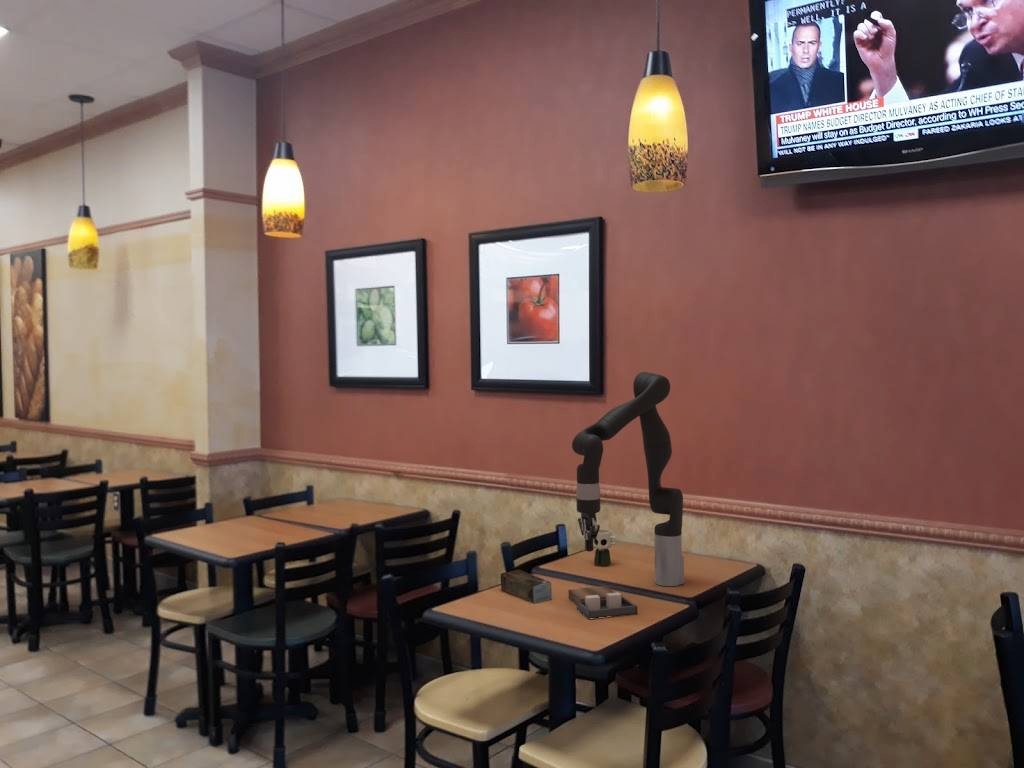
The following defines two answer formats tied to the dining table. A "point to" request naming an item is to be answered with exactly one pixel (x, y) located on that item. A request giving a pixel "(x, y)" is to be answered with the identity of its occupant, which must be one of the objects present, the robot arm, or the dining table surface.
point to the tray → (608, 609)
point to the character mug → (603, 546)
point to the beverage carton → (526, 586)
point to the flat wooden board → (588, 593)
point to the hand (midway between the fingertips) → (589, 550)
